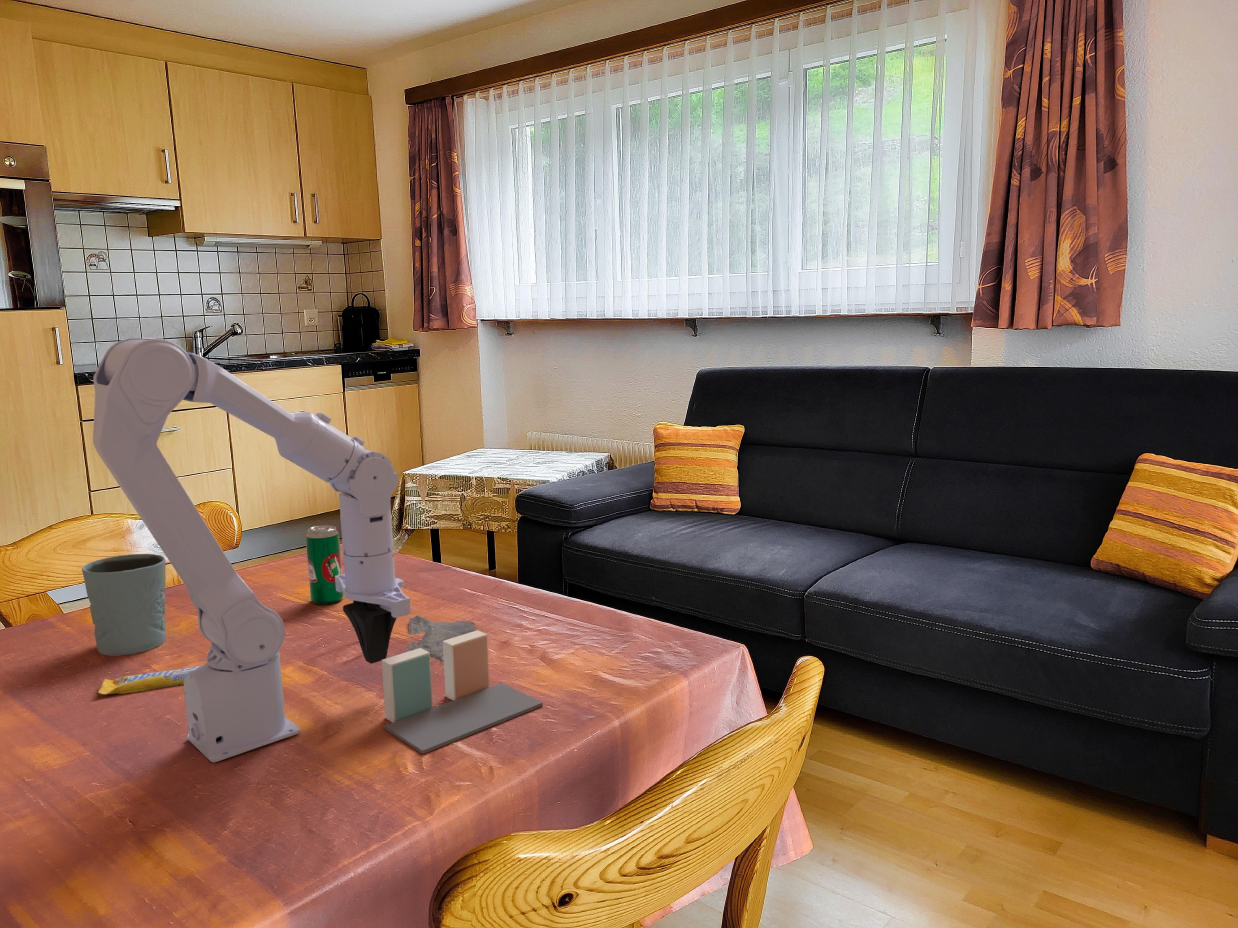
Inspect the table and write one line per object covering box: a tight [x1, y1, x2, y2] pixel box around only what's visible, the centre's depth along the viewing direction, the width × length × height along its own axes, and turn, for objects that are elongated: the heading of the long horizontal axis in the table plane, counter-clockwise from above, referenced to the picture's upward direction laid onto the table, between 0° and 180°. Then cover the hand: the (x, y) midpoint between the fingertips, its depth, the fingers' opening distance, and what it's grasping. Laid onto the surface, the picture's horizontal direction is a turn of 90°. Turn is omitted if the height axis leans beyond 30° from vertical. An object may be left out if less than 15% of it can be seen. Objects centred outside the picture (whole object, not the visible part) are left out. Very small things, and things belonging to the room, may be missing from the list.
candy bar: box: [97, 665, 203, 696], centre depth 112 cm, size 17×4×2 cm, turn 112°
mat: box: [383, 682, 544, 755], centre depth 100 cm, size 16×8×1 cm, turn 134°
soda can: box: [305, 524, 345, 606], centre depth 142 cm, size 5×5×12 cm
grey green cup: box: [81, 553, 167, 657], centre depth 124 cm, size 10×10×12 cm
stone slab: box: [405, 615, 476, 665], centre depth 124 cm, size 18×2×10 cm
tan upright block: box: [443, 629, 491, 701], centre depth 106 cm, size 5×2×7 cm, turn 134°
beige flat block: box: [381, 648, 434, 723], centre depth 101 cm, size 5×2×7 cm, turn 133°
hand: (375, 659), depth 106 cm, fingers closed
